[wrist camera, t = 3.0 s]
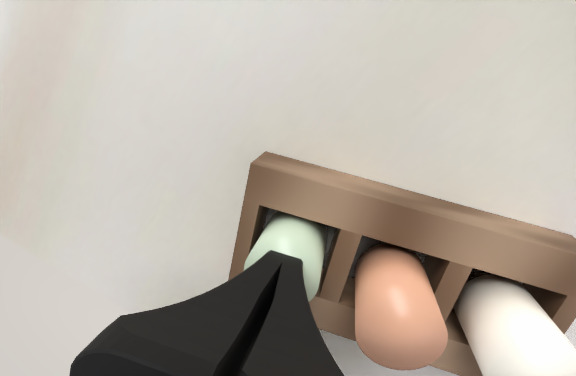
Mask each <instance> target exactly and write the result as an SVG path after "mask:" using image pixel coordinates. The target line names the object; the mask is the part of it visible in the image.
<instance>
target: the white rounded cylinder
mask: <svg viewBox="0 0 576 376" xmlns="http://www.w3.org/2000/svg"><path fill="white" fill-rule="evenodd" d="M454 310H455V313H456V315H457V317H458V320H459V322H460V324H461V327H462V329H463V331H464V333H465V336H466V338H467V340H468V343H469V345H470V347H471V349H472V352H473V354H474V356H475V359H476V361H477V363H478V366H479V368H480V370H481V372H482V375H483V376H576V349H575V347H574V346H573V345H572V344H571V342H570V341H569V340H568V339H567V338H566V336H565V335H564V334H563V333H562V332H561V330H560V329H559V328H558V327H557V326H556V324H555V323H554V322H553V321H552V319H551V318H550V317H549V316H548V315H547V313H546V312H545V311H544V310H543V309H542V307H541V306H540V305H539V304H538V303H537V301H536V300H535V299H534V298H533V296H532V295H531V294H530V293H529V292H528V290H527V289H526V288H525V287H524V286H523V285H522V284H521V283H520V282H518V281H516V280H513V279H509V278H506V277H503V276H499V275H496V274H490V275H483V276H479V277H476V278H473V279H471V280H470V281H468V282H466V283H465V284H464V286H463V288H462V290H461V292H460V294H459V296H458V298H457V300H456V302H455V304H454Z"/></svg>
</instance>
